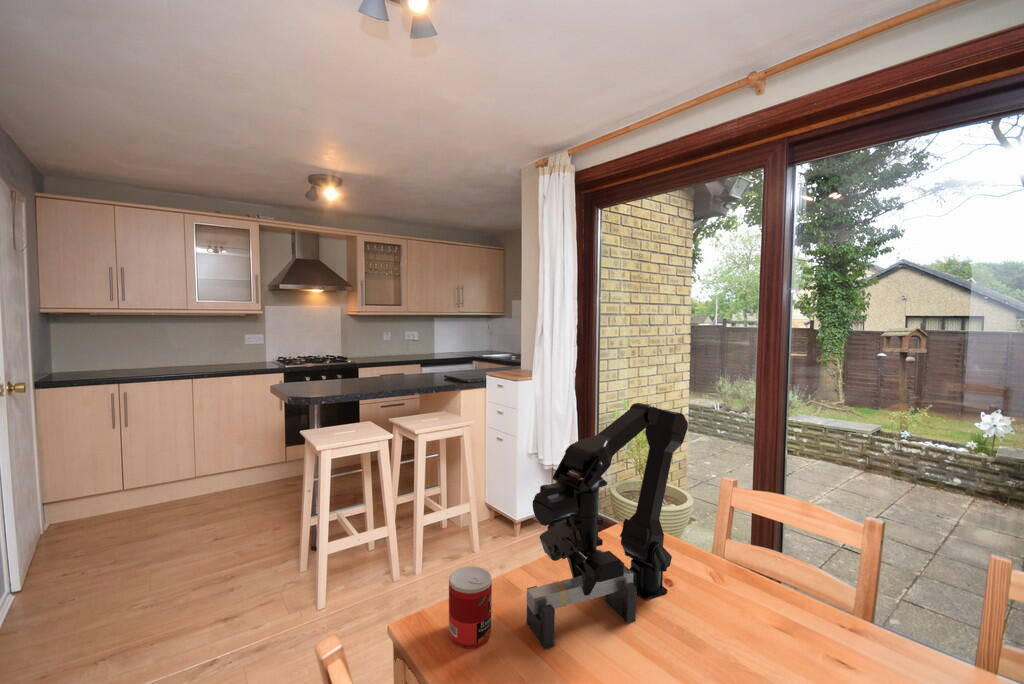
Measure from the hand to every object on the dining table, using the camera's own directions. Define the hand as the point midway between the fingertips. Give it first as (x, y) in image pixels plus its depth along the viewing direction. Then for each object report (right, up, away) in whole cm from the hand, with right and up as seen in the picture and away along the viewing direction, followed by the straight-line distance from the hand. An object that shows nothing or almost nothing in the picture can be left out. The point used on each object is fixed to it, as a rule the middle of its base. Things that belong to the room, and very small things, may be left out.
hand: (582, 589), depth 88 cm
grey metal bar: (0, -1, 0) cm, 1 cm away
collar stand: (0, -7, 0) cm, 7 cm away
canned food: (-21, -7, -3) cm, 23 cm away
